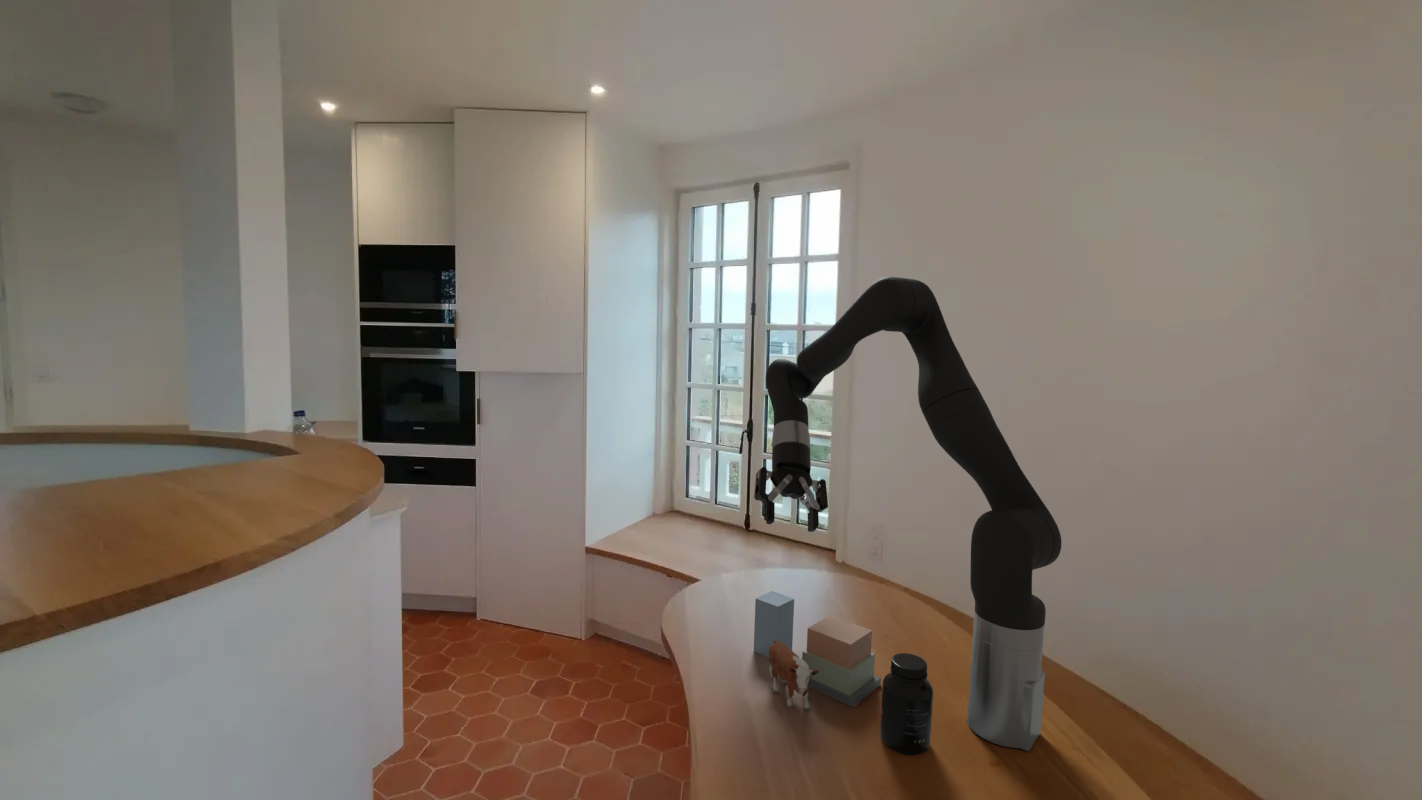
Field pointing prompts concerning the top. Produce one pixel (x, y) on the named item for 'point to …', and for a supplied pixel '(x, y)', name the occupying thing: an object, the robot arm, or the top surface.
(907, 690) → the supplement bottle
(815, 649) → the brick tower
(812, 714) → the top surface
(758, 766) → the top surface
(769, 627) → the column brick
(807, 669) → the bull figurine
